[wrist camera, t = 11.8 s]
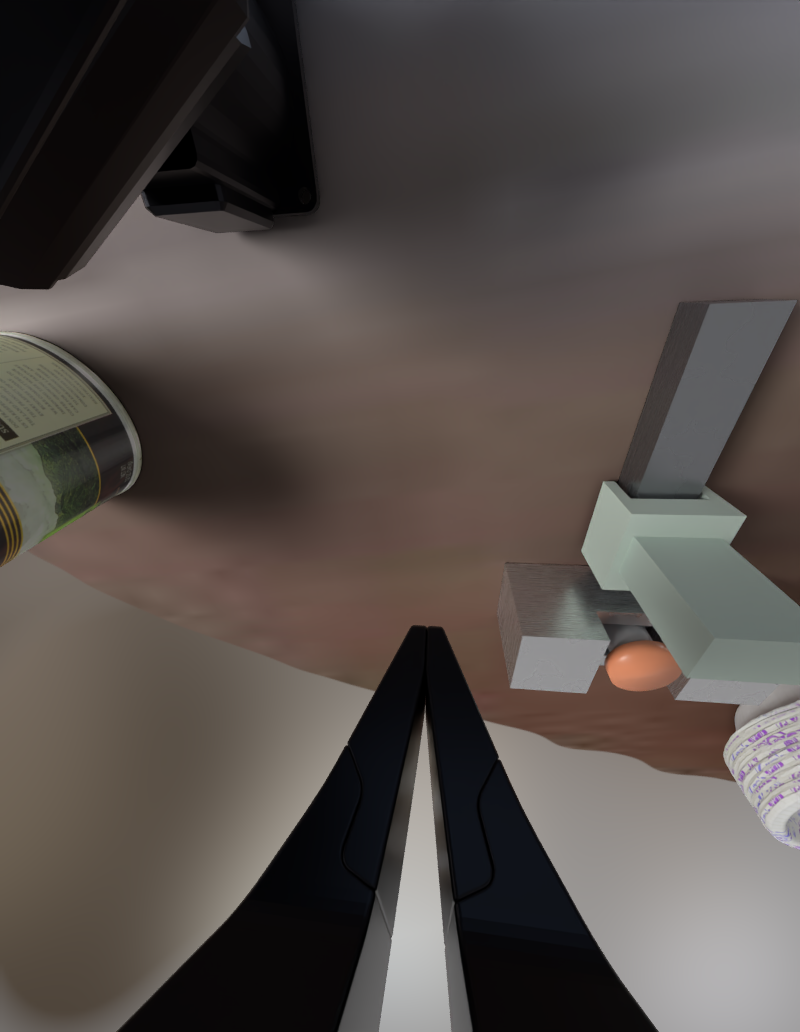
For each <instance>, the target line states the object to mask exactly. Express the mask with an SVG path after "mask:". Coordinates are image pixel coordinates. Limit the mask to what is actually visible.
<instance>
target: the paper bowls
mask: <svg viewBox="0 0 800 1032" xmlns="http://www.w3.org/2000/svg"><path fill="white" fill-rule="evenodd" d="M735 727H736V732H735V733H734V734H733V735H732V736H731V737H730V739H729V741H728V742H727V744H726V746H725V749H724V753H723V754H724V755H723V756H724V759H725V763H726V765H727V766H728V768H729V770H730V772H731V774H732V775H733V777H734V778H735V780H736V782H737V783H738V785H739V787H740V788H741V790H742V792H743V793H744V795H745V796H746V798H747V799H748V800H749V802H750V804H751V805H752V806H753V808H754V810H755V812H756V813H757V815H758V816H759V818H760V819H761V821H762V824H763V825H764V827H765V828H766V829H767V830H768V831H769V832H770V833H771V835H772V836H773V837H775V838H776V839H777V840H779V841H780V842H782V843H784V844H786V845H788V846H791V847H793V848H796V849H799V850H800V685H787V684H780V685H779V686H778V687H777V688H776V689H775V690H774V691H773V692H772V693H771V694H770V695H769V696H768V697H767V698H766V699H765V700H764V701H763V702H762V703H761V704H760V705H759V706H757V705H743V704H740V705H739V707H738V708H737V711H736V713H735Z"/></svg>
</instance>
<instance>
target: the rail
mask: <svg viewBox="0 0 800 1032" xmlns="http://www.w3.org/2000/svg"><path fill="white" fill-rule="evenodd" d="M796 302H797V300H767V299H751V300H728V301H705V302H682V303H679V306H678V309H677V312H676V315H675V317H674V320H673V323H672V326H671V329H670V332H669V335H668V338H667V341H666V344H665V347H664V349H663V352H662V355H661V358H660V361H659V364H658V367H657V370H656V373H655V376H654V379H653V381H652V384H651V387H650V390H649V393H648V396H647V399H646V402H645V405H644V408H643V411H642V413H641V416H640V419H639V422H638V425H637V428H636V431H635V434H634V437H633V440H632V443H631V445H630V448H629V451H628V454H627V457H626V460H625V463H624V466H623V469H622V472H621V475H620V477H619V480H618V483H617V484H618V486H619V487H620V488H621V489H622V490H623V491H624V492H625V493H626V494H627V495H628V496H629V497H630V499H698V497H699V495H700V493H701V491H702V489H703V487H704V485H705V483H706V482H707V480H708V478H709V476H710V474H711V472H712V470H713V468H714V466H715V464H716V462H717V460H718V458H719V456H720V454H721V452H722V450H723V448H724V446H725V444H726V442H727V440H728V438H729V436H730V434H731V432H732V430H733V428H734V426H735V424H736V422H737V420H738V418H739V416H740V414H741V412H742V410H743V408H744V406H745V404H746V402H747V400H748V398H749V396H750V394H751V392H752V390H753V388H754V386H755V384H756V382H757V380H758V378H759V376H760V374H761V372H762V370H763V368H764V366H765V364H766V362H767V360H768V358H769V356H770V354H771V352H772V350H773V348H774V346H775V344H776V342H777V340H778V338H779V336H780V334H781V332H782V330H783V328H784V326H785V324H786V322H787V320H788V318H789V316H790V314H791V312H792V310H793V308H794V306H795V304H796Z"/></svg>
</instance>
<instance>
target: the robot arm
mask: <svg viewBox="0 0 800 1032" xmlns="http://www.w3.org/2000/svg"><path fill="white" fill-rule="evenodd" d="M306 189H307V190H309V191H310V194H311V200H310V202H309V203H308V204H304V203H303V201H302V193H303V191H304V190H306ZM140 194H141V196H142V199H143V202H144V205H145V208H146V209H147V210H148V211H149V212H151V213H152V214H153V215H154V216H155V217H159V218H163V219H166V220H170V221H174V222H177V223H181V224H185V225H189V226H192V227H196V228H200V229H204V230H207V231H211V232H215V233H226V232H240V231H253V230H267V229H271V228H272V226H273V224H274V218H273V217H280V216H293V215H306V214H312V213H315V211H316V210H317V209H318V207H319V204H320V195H319V187H318V179H317V171H316V163H315V155H314V147H313V139H312V131H311V124H310V116H309V108H308V100H307V92H306V84H305V76H304V68H303V60H302V52H301V44H300V36H299V28H298V20H297V12H296V4H295V0H0V285H5V286H9V287H14V288H19V289H50V288H52V287H53V286H54V285H55V283H56V282H57V281H58V280H61V279H66V278H68V277H69V276H71V275H72V274H74V273H75V272H77V271H79V270H80V269H82V268H83V267H85V266H86V264H87V263H88V262H89V260H90V259H91V258H92V256H93V255H94V254H95V253H96V251H97V250H98V249H99V247H100V246H101V245H102V243H103V242H104V241H105V239H106V238H107V237H108V235H109V234H110V233H111V232H112V230H113V229H114V228H115V226H116V225H117V224H118V222H119V221H120V220H121V218H122V217H123V216H124V214H125V213H126V212H127V211H128V209H129V208H130V207H131V205H132V204H133V203H134V201H135V200H136V199H137V197H138V196H139V195H140ZM425 696H426V726H427V737H428V749H429V762H430V774H431V787H432V798H433V811H434V823H435V835H436V847H437V859H438V871H439V884H440V896H441V908H442V920H443V933H444V944H445V957H446V969H447V981H448V993H449V1006H450V1018H451V1030H452V1032H659V1031H658V1030H657V1029H656V1027H655V1026H654V1025H653V1023H652V1022H651V1021H650V1019H649V1018H648V1017H647V1015H646V1014H645V1013H644V1011H643V1010H642V1009H641V1007H640V1006H639V1004H638V1003H637V1002H636V1000H635V999H634V998H633V996H632V995H631V994H630V992H629V991H628V989H627V988H626V987H625V985H624V984H623V983H622V981H621V980H620V978H619V977H618V976H617V974H616V972H615V971H614V969H613V968H612V966H611V965H610V963H609V962H608V960H607V959H606V957H605V955H604V954H603V952H602V951H601V949H600V947H599V946H598V944H597V942H596V941H595V939H594V938H593V936H592V934H591V932H590V931H589V929H588V927H587V925H586V924H585V922H584V920H583V919H582V917H581V915H580V913H579V911H578V910H577V908H576V906H575V904H574V902H573V900H572V899H571V897H570V895H569V893H568V891H567V889H566V888H565V886H564V884H563V882H562V881H561V879H560V877H559V875H558V873H557V871H556V870H555V868H554V866H553V864H552V862H551V861H550V859H549V857H548V855H547V853H546V852H545V850H544V848H543V846H542V844H541V842H540V841H539V839H538V837H537V835H536V833H535V831H534V829H533V827H532V825H531V824H530V822H529V820H528V818H527V816H526V814H525V812H524V810H523V808H522V806H521V804H520V802H519V800H518V798H517V795H516V793H515V791H514V789H513V787H512V785H511V783H510V781H509V778H508V776H507V774H506V772H505V769H504V767H503V765H502V762H501V760H498V758H499V756H498V754H497V751H496V749H495V746H494V744H493V742H492V740H491V737H490V735H489V733H488V730H487V728H486V726H485V723H484V721H483V719H482V717H481V714H480V712H479V710H478V707H477V705H476V703H475V700H474V698H473V696H472V693H471V691H470V689H469V687H468V684H467V682H466V680H465V677H464V675H463V673H462V670H461V668H460V666H459V664H458V661H457V659H456V657H455V654H454V652H453V650H452V647H451V645H450V643H449V641H448V638H447V636H446V634H445V631H444V629H443V628H442V627H438V626H429V627H428V628H427V627H426V626H420V625H413V626H411V628H410V629H409V631H408V633H407V635H406V637H405V638H404V640H403V642H402V644H401V646H400V648H399V649H398V651H397V653H396V655H395V657H394V659H393V660H392V662H391V664H390V666H389V668H388V669H387V671H386V673H385V675H384V677H383V679H382V680H381V682H380V684H379V686H378V688H377V689H376V691H375V693H374V695H373V697H372V699H371V701H370V702H369V704H368V706H367V708H366V710H365V711H364V713H363V715H362V717H361V719H360V721H359V722H358V724H357V726H356V728H355V730H354V731H353V733H352V735H351V737H350V739H349V741H348V746H345V747H344V750H343V751H342V753H341V755H340V757H339V758H338V760H337V762H336V764H335V766H334V767H333V769H332V771H331V772H330V774H329V776H328V777H327V779H326V781H325V783H324V784H323V786H322V787H321V789H320V791H319V792H318V794H317V795H316V797H315V798H314V800H313V801H312V803H311V805H310V806H309V807H308V809H307V810H306V812H305V813H304V815H303V816H302V818H301V819H300V821H299V822H298V824H297V825H296V826H295V828H294V829H293V831H292V832H291V834H290V835H289V837H288V838H287V839H286V841H285V842H284V844H283V845H282V847H281V848H280V850H279V851H278V852H277V854H276V855H275V857H274V858H273V860H272V861H271V863H270V864H269V866H268V867H267V868H266V870H265V871H264V873H263V874H262V876H261V877H260V878H259V880H258V881H257V883H256V884H255V885H254V887H253V888H252V889H251V891H250V892H249V893H248V895H247V896H246V897H245V899H244V900H243V901H242V902H241V903H240V905H239V906H238V907H237V908H236V910H235V911H234V912H233V913H232V914H231V915H230V917H229V918H228V919H227V920H226V921H225V922H224V923H223V924H222V925H221V926H220V927H219V928H218V929H217V930H216V931H215V932H214V933H213V934H212V935H211V936H210V937H209V938H208V939H207V940H206V941H205V942H204V943H203V944H202V945H201V946H200V947H199V948H198V949H197V950H196V951H195V952H194V953H193V954H192V955H191V956H190V957H189V958H188V959H187V961H186V962H184V964H183V965H182V966H181V967H180V968H179V969H178V970H177V971H176V972H175V973H174V974H173V975H172V976H171V977H170V978H169V979H168V980H167V981H166V982H165V983H164V984H163V985H162V986H161V987H160V988H159V989H158V990H157V991H156V992H155V993H154V994H153V995H152V996H151V997H150V998H149V999H148V1000H147V1001H146V1002H145V1003H144V1004H143V1005H142V1006H141V1007H140V1008H139V1009H138V1010H137V1011H136V1012H135V1013H134V1014H133V1015H132V1016H131V1017H130V1018H129V1019H128V1020H127V1021H126V1022H125V1023H124V1024H123V1025H122V1026H121V1027H120V1028H119V1029H118V1030H117V1031H116V1032H379V1024H380V1018H381V1011H382V1004H383V997H384V990H385V983H386V976H387V970H388V963H389V956H390V949H391V937H392V934H393V928H394V921H395V914H396V906H397V900H398V893H399V886H400V880H401V873H402V865H403V858H404V852H405V845H406V838H407V832H408V824H409V817H410V811H411V804H412V796H413V790H414V783H415V776H416V769H417V763H418V756H419V749H420V742H421V735H422V728H423V721H424V713H425Z"/></svg>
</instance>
